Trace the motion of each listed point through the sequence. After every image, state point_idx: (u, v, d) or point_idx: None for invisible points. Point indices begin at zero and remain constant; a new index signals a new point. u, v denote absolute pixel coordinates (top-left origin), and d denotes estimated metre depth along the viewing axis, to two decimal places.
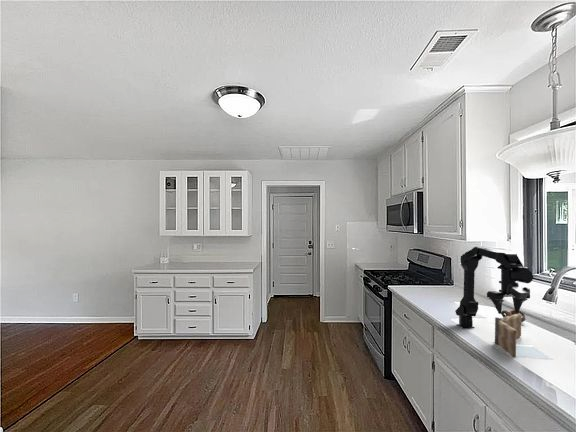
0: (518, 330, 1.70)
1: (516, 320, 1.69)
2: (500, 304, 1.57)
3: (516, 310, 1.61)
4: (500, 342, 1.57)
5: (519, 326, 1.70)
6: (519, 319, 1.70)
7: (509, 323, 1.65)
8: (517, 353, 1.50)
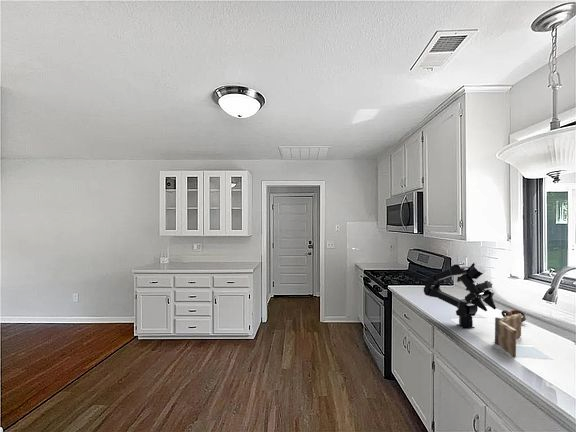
0: (518, 330, 1.70)
1: (516, 320, 1.69)
2: (481, 301, 1.75)
3: (493, 306, 1.78)
4: (500, 342, 1.57)
5: (519, 326, 1.70)
6: (519, 319, 1.70)
7: (509, 323, 1.65)
8: (517, 353, 1.50)
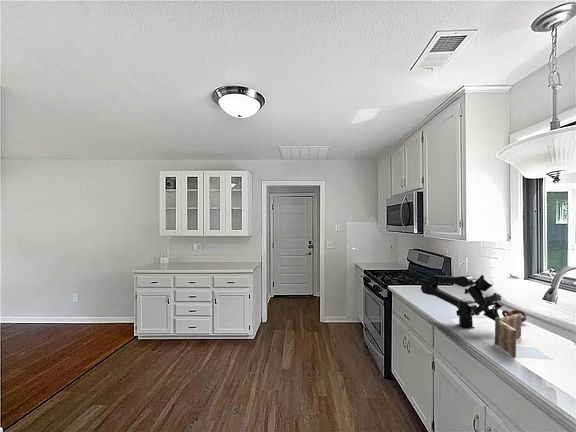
0: (518, 330, 1.70)
1: (516, 320, 1.69)
2: (494, 313, 1.73)
3: None
4: (500, 342, 1.57)
5: (519, 326, 1.70)
6: (519, 319, 1.70)
7: (509, 323, 1.65)
8: (517, 353, 1.50)
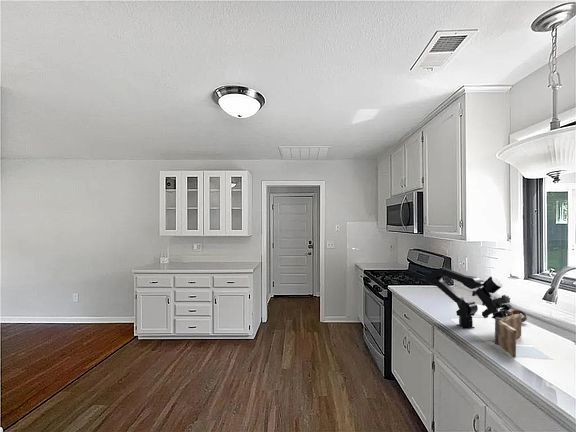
0: (518, 330, 1.70)
1: (517, 320, 1.69)
2: (503, 316, 1.69)
3: None
4: (500, 342, 1.57)
5: (519, 326, 1.70)
6: (519, 319, 1.70)
7: (509, 323, 1.65)
8: (517, 353, 1.50)
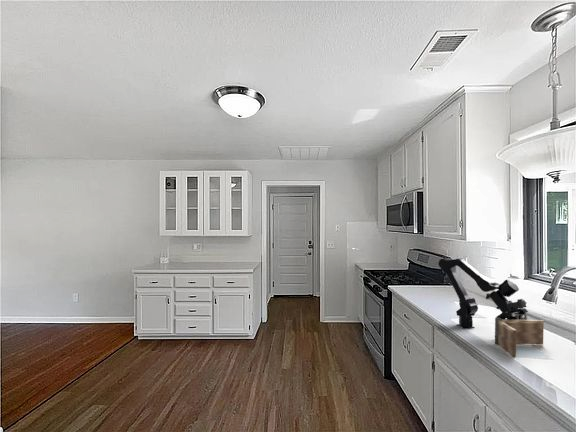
0: (537, 337, 1.60)
1: (534, 326, 1.60)
2: None
3: None
4: (500, 342, 1.57)
5: (539, 333, 1.60)
6: (539, 326, 1.60)
7: (518, 326, 1.60)
8: (517, 353, 1.50)
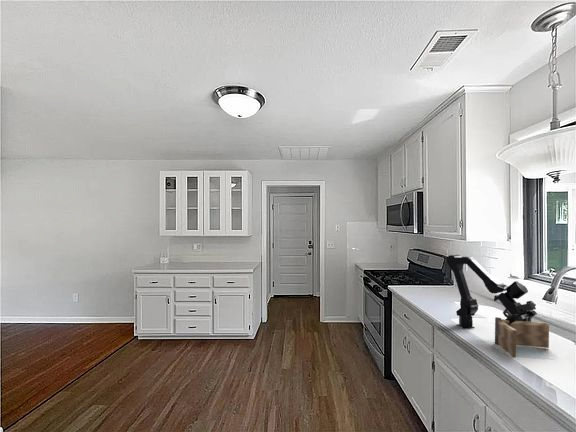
0: (542, 340, 1.56)
1: (538, 328, 1.57)
2: None
3: None
4: (500, 342, 1.57)
5: (544, 336, 1.56)
6: (544, 328, 1.56)
7: (520, 328, 1.58)
8: (517, 353, 1.50)
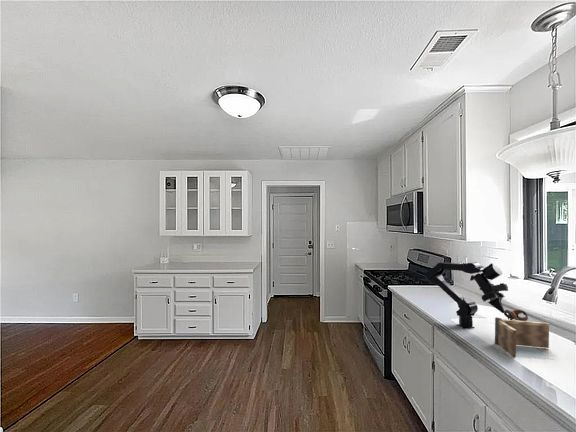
0: (542, 340, 1.56)
1: (538, 328, 1.57)
2: (499, 302, 1.72)
3: None
4: (500, 342, 1.57)
5: (544, 336, 1.56)
6: (544, 328, 1.56)
7: (520, 328, 1.58)
8: (517, 353, 1.50)
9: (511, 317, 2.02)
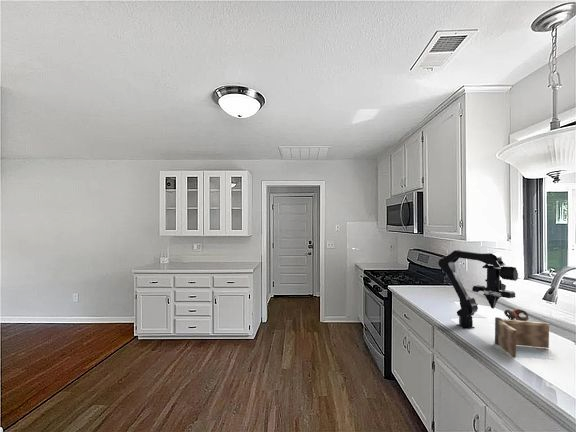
0: (542, 340, 1.56)
1: (538, 328, 1.57)
2: None
3: None
4: (500, 342, 1.57)
5: (544, 336, 1.56)
6: (544, 328, 1.56)
7: (520, 328, 1.58)
8: (517, 353, 1.50)
9: (512, 317, 2.03)
